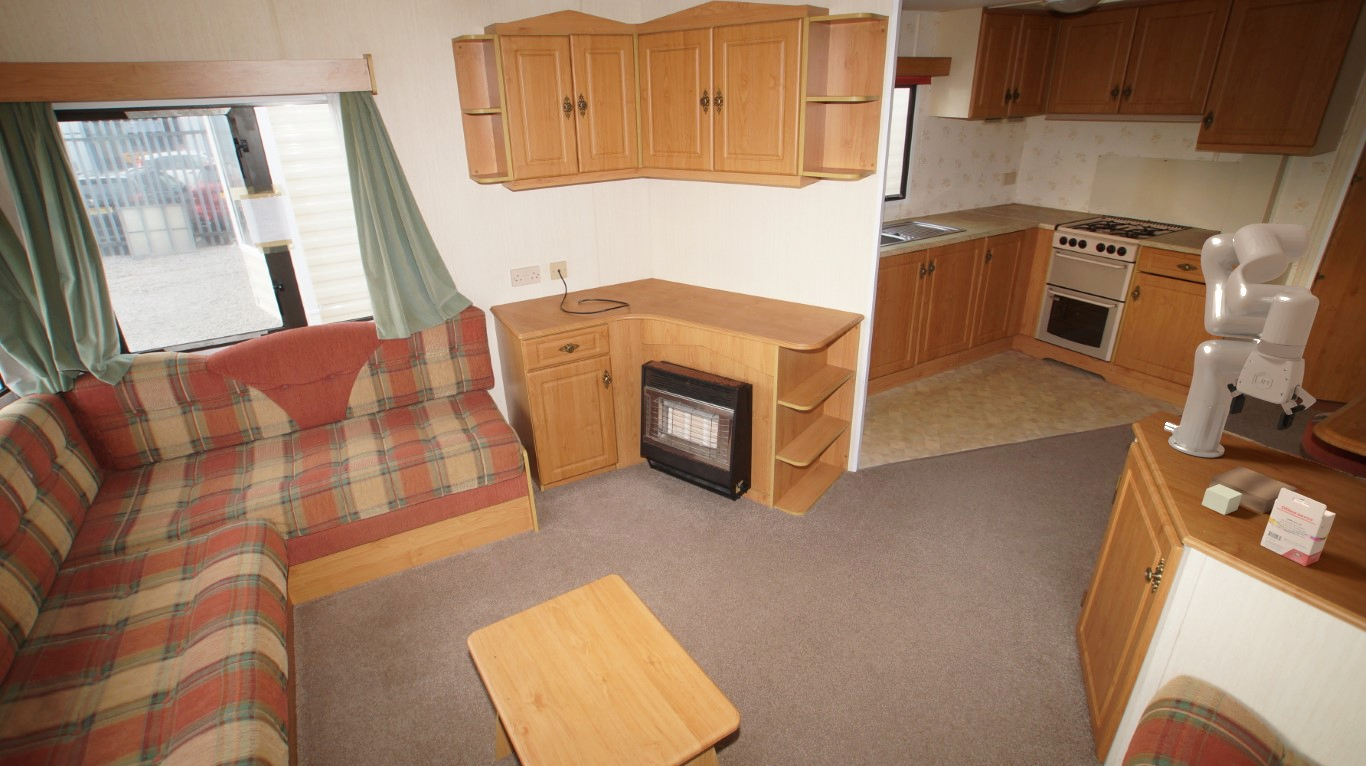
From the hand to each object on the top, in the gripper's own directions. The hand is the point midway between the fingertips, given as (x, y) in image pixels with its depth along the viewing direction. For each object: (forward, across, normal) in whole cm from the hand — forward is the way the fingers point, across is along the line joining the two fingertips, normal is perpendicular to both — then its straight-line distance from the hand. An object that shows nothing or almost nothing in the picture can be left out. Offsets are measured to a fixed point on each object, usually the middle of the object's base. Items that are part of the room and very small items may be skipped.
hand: (1258, 420), depth 150 cm
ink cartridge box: (+24, +16, -7) cm, 29 cm away
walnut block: (+23, -2, +10) cm, 25 cm away
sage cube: (+23, -1, -2) cm, 23 cm away
